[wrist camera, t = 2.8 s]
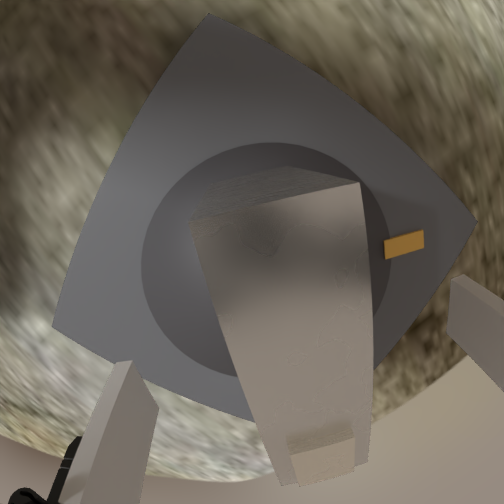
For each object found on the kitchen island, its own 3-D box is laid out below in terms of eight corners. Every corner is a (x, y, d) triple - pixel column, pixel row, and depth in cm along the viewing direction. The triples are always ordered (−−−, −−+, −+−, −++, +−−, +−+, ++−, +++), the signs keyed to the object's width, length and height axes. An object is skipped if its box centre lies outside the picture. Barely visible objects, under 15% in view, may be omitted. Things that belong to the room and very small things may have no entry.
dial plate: (60, 316, 19) (50, 328, 17) (209, 23, 14) (208, 11, 12) (303, 424, 24) (307, 438, 22) (465, 216, 19) (479, 222, 17)
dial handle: (210, 183, 15) (184, 227, 6) (286, 165, 15) (368, 184, 6) (261, 368, 19) (282, 494, 10) (320, 353, 19) (370, 470, 10)
